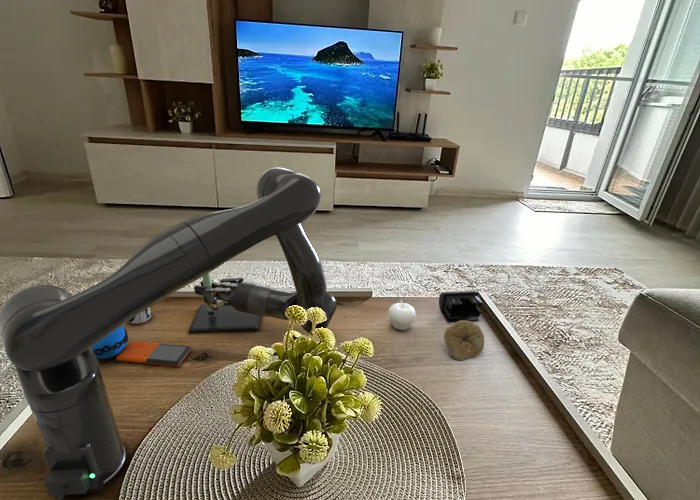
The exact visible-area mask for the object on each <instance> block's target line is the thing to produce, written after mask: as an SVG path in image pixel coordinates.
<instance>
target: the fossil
mask: <svg viewBox="0 0 700 500" xmlns="http://www.w3.org/2000/svg"><path fill="white" fill-rule="evenodd" d="M485 337H486V336H485V333H484V332H483V330H482V328H481V326H480V325H478V324H477V323H474V322H473V321H458V322H454V323H453V324H452V325H451V326H448V327H447V328H446V329H445V330H444V334H443V340H444V344H445V345H446V348H447V350H448V352H449V354H450V355H451V356H452V358H454V359H455V360H458V361H464V360H466V359H468V358H475V357H477V356H479V355H480V354H481V353H482V351H483V350H484V348H485V347H484V346H485V339H486V338H485Z"/></svg>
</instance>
